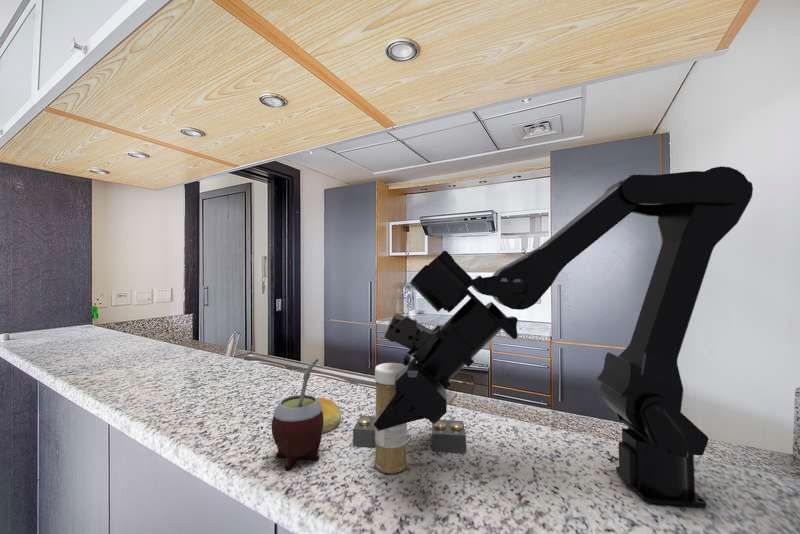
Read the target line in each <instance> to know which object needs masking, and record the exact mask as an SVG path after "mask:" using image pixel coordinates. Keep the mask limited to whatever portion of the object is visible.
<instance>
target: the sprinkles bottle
mask: <svg viewBox="0 0 800 534" xmlns="http://www.w3.org/2000/svg"><path fill="white" fill-rule="evenodd" d="M405 367H406V366H405V365H404V363H398V362H385V363H381V364H377V365H376V366H375V369H374V380H375V386H376V388H375V412H374V413H375V415H374V416H375V421H376V420H377V418H378V417H379V416H380V414H381V413H382V411H383V410H384V409H385V407H386V406H387V404H388V403H389V402H390V400H391V399H392V397H393V396H394V395H395V393H396V387H395V379H396V377H397V374H399V373H400V372H401V371H402V370H403V369H404V368H405ZM407 425H408V423H404V424H401V425H397V426H394V427H391V428H387V429H384V430H381V431H379V430H378V429H377V428H376V427H375V442H376V447H374V448H375V455H374V457H375V459H374V467H375V468H376V469H377V471H379V472H381V473H384V474H397V473H400V472H402V471H403V470H405V469H406V468H407V465H408V459H407V440H408V437H407V435H408V426H407Z"/></svg>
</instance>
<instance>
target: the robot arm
mask: <svg viewBox="0 0 800 534" xmlns="http://www.w3.org/2000/svg"><path fill="white" fill-rule="evenodd" d="M753 191H754V187H753V182H751V180H750V181H749V180H748V178H747V177H746V176H745V175H744V173H742V172H741V171H739V170H738V169H735V168H732V167H730V166H721V165H720V166H717V167H711V168H708V169H707V170H704V171H702V170H701V171H700V170H699V171H697V170H693V171H691V170H690V171H682V172H674V173H664V174H631V175H627V176H626V177H624V178H622V179H620V180H619V181H617V182H615V183H614V184H612V185H611V186H609V187H608V188H607V189H606V190H605V192H604V193H603V194H602V195H601V196H599V197H598V198H597V199H595V200H594V202H592V203H591V204H590V205H589V206H587V207H586V208H585V209H584V210H583V211H581V212H580V213H579V214H578V215H577V216H575V217H574V218H573V219H572V220H571V221H569V222H568V223H567V224H565V225H564V226H563V227H562V228H560V229H559V230H558V231H557V232H556V233H554V234H553V235H552V236H551V237H550V238H548V239H547V240H546V241H544V243H542V244H541V245H540V246H538V247H537V248H534V249H533V250H531V251H529V252H528V253H526V254H524V255H522V256H520V257H519V258H517V259H515V260H513V261H511V262H509V263H507V264H506V265H503V266H502V267H500V268H498V269H497V270H495V272H494V273H493V274H492V275H491V276H486V277H485V276H484V277H482V275H477V276H476V277H475V278H472V277H471V276H470V275H469V274H468V273H467V272H466V271H465V270H464V268H462V267H461V266H460V265H459V264H458V263H457V262H456V261H455V259H454V258H453V256H452V255H451V254H450V253H449V252H448V251H447V250H443V251H442V252H441V253H440V254H439V255H438V256H436V257H435V258H433V260H432V261H431V262H429V263H428V265H427V264H425V265H424V266H423V267H422V268H421V269H420V270H419V271H418V272H417V274H415V276H414V277H412V279H411V281H409V285H410V286H411V287H413V289H414V290H416V292H418V293H419V294H420V295H421V297H422V298H424V300H425V301H426V302H427V303H428V304H429V305H430V306H431V307H432V308H433V309H434V310H435V311H436V312H437V313H439V312H440V311H441V310H442V309H443V310H444V311H446V312H447V313H451V312H452V311H453V310H455V309H456V307H457V306H458V305H460V303H462V301H463V300H464V299H465V298H467V297H469V299H468V300H467V301H466V302H465V304H463V305H462V306H461V307H460V308H459V309H458V310H457V311H456V312H455V313H453V315H452V316H451V317H450V318H449V319H448V320H447V321H446V322H445V323H444V324H438V325H436V326H435V327H434V328H433V329H430V328H428V327H427V326H424V325H423V324H421V323H419V322H418V320H417V319H413V318H410V316H409V315H406V316H405V315H403V314H400V313H398V312H397V313H395V314H394V315H393V316H392V318H391V321H390V323H389V325H388V327H387V329H386V332H385V333H384V336H383V337H384V338H385V340H388V341H389V342H391V343H397V344H398V345H401V346H403V347H405V348H407V351H406V352H407V354H405V356H404V358H403V365H405V366H406V367H405V368H404V369H403V370H402V371H401V372H400V373H399V374H397V377H396V379H395V387H396V393H395V395H394V396H393V397H392V399H391V400H390V402H389V403H388V404H387V406H386V407H385V409H384V410H383V411H382V413H381V414H380V416H379V417H378V418H377V420H376V421H375V423H374V426H375V427H376V428H377V429H378V430H379V431H381V430H384V429H387V428H391V427H394V426H397V425H401V424H404V423H407V424H408V423H411V422H417V421H421V420H423V419H426V420H428V421H429V422H430V423H431V424H432V423H433V424H435V423H436V422H437V421H438V420H442V417H444V416H445V415H446V414H447V412H448V411H447V408H448V407H447V406H448V405H447V391H446V390H447V388H449V387H450V386H451V384H452V381H451V379H453V377H454V376H455V375H456V374H458V372H459V371H461V370H462V368H463V367H465V365H466V367H467V368H469V367H470V366H471V365H472V364H473V363H474V362H475V361H474V359H473V358H474V357H476V355H477V354H478V353H479V352H480V351H481V350H482V349H483V348H484V347H485V346H487V344H488V343H490V341H492V339H493V338H494V337H496V335H498V333H500V332H501V331H503V332H504V333H505V334H506V335H507V336H509V337H510V338H511V339H512V340H517V338H518V336H519V335H518V329H517V323H518V321H519V319H518V318H517V317H516V316H513V315H512V316H507V315H506V314H505V313H504V312H503V311H502V310H501V309H500V308H498V306H497V305H496V304H494V302H493V301H490V302H488V303H486V305H485V304H484V303H483V302H482V301H481V300H480V299H478V297H477V296H476V295H474V293H473V292H472V291H471V290H470V289H469V288H470V287H471V288H472V289H473V290H474V291H475V292H476V293H478V294H481V295H483V296H488V297H492V298H493V300H495V301H496V303H498V304H500V305H502V306H504V307H507V308H509V309H511V310H519V311H521V310H522V311H523V310H527V309H529V308H530V307H533V306H534V305H535V304H537V302H538V301H540V299H541V297H542V296H543V295H544V294H545V293H547V291H548V290H549V288H550V287H551V286H552V285H553V284H554V282H555V281H556V279H557V278H558V275H560V273H561V271H563V269H564V268H565V267H566V266H567V265H569V263H570V262H572V260H574V259H575V258H577V256H579V255H580V254H581V253H583V252H584V251H585V250H586V249H588V248H589V247H590V246H592V245H594V243H595V242H596V241H597V240H599V239H600V238H602V237H603V236H604V235H605V234H606V233H608V232H609V231H610V230H611V229H612V228H614V227H615V226H616V225H618V224H619V223H620V222H621V221H623V220H624V219H625V218H626V217H628V215H630V214H636V215H640V216H643V217H644V216H645V217H652V218H653V217H654V218H656V217H657V224H658V228H659V232H660V235H661V238H662V241H661V243H662V244H661V248H660V249H659V253H658V257H657V259H656V262H655V266H654V269H653V272H652V274H651V278H650V281H649V284H648V287H647V291H646V293H645V296H644V299H643V302H642V305H641V308H640V311H639V315H638V318H637V321H636V323H635V327H634V329H633V333H632V336H631V340H630V343H629V344H628V346H627V347H626V348H625V349H624V350H623V351H622V352H621V353H620V354H619V355H615V354H614V353H611V352H609V351H608V352H606V354H605V357H604V364H603V368H602V371H601V373H600V374H599V375H598V376H597V377H596V380H597V381H598V382H600V386H599V387H600V389H599V390H600V391H599V392H600V396H602V399H603V400H604V403H605V404H606V405H607V406H608V407H609V408H610V409H612V410H613V411H614V413H615V416H616V418H617V420H618V421H619V422H621V423H623V425H625V426H626V427H627V428H621V441H619V442H618V466H616V467H615V472H616V473H617V474H618V475H619V476H620V477H621V478H622V479H623V480H624V481H625V483H626V484H628V485H629V486H630V487H631V488H632V490H633V491H634V492H635V493H636V494H637V495H638V496H639V497H640V498H641V499H642V500H643V501H644V502H646V503H649V504H658V505H659V504H661V505H675V506H687V507H688V506H689V507H700V508H706V507H707V501H706V499H704V498H703V497H702V496H700V495H699V494H698V493H697V492H696V485H695V484H696V482H695V479H696V478H695V461H694V460H695V457H694V456H703V455H704V453H705V450H706V448H707V446H708V444H709V443H708V442H709V437H708V435H706V434H705V433H704V432H703V431H702V430H701V429H700V428H698V426H697V425H695V424H694V422H692V421H691V420H690V419H689V418H688V417H687V416H685V415H684V413H683V412H682V406H683V396H684V387H683V381H682V379H681V373H680V370H679V366H678V361H679V360H678V358H679V355H680V353H681V349H682V346H683V343H684V339H685V337H686V333H687V332H688V331H687V330H688V328H689V324H690V322H691V318H692V316H693V312H694V309H695V306H696V303H697V301H698V297H699V293H700V291H701V288H702V285H703V281H704V278H705V275H706V273H707V269H708V267H709V262H710V260H711V258H712V254H713V251H714V248H715V247H716V246H717V244H719V242H721V240H723V239H724V237H726V236H727V234H728V233H729V232H731V230H732V229H734V228H735V226H736V225H737V224H739V221H740V220H741V218H742V216H743V215H744V213H745V211H746V209H747V207H748V205H749V204H750V202H751V200H752V198H753V194H754V193H753ZM411 355H412V356H411ZM410 356H411V357H410Z"/></svg>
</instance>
